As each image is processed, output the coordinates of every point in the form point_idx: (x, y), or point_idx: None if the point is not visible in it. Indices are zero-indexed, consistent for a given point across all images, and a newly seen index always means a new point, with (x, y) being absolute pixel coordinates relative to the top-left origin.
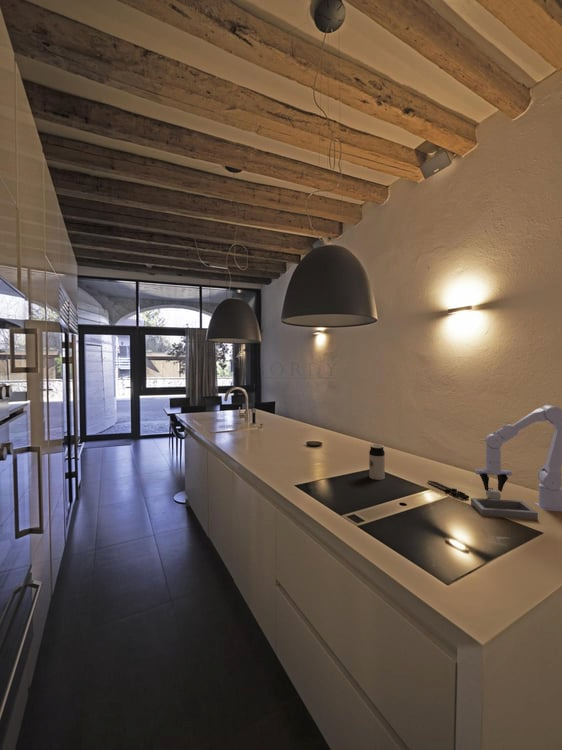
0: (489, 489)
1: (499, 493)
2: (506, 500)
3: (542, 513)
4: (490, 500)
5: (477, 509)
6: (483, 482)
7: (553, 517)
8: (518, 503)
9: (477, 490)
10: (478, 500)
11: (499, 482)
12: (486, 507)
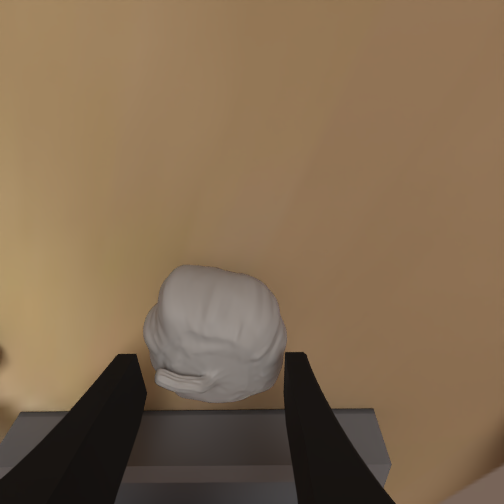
0: (173, 360)
1: (267, 389)
2: (263, 473)
3: (449, 452)
4: (136, 482)
5: None
6: (54, 441)
7: (468, 479)
8: None
9: (103, 7)
10: None
11: (303, 491)
12: None
